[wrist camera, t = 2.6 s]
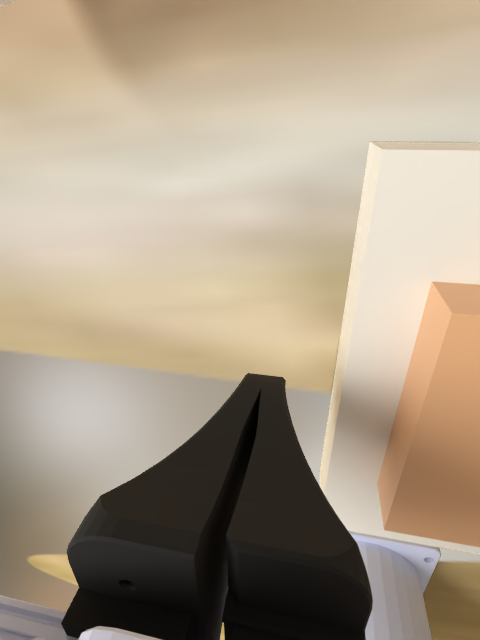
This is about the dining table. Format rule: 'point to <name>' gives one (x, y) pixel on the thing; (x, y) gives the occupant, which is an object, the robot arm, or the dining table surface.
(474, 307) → the tile
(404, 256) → the cream flat block
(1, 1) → the cup
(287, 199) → the dining table surface
